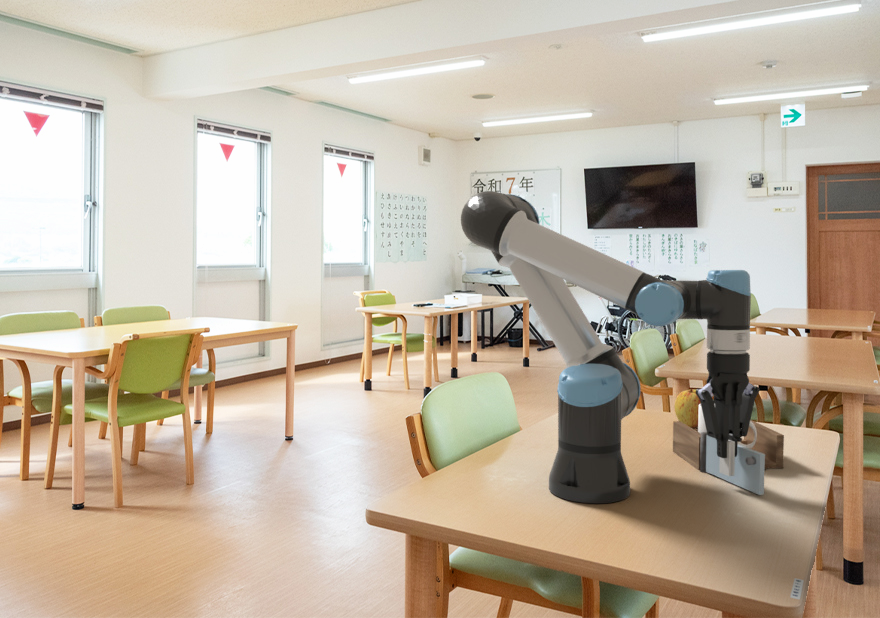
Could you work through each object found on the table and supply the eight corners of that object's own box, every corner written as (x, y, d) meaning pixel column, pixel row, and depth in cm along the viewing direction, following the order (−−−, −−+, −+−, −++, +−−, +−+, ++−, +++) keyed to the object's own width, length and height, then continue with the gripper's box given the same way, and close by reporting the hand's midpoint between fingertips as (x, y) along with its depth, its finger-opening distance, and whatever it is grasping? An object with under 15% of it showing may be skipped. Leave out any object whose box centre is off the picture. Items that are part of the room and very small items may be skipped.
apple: (710, 431, 176) (711, 392, 175) (672, 429, 179) (673, 390, 178) (710, 423, 184) (710, 386, 184) (674, 421, 187) (674, 384, 187)
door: (700, 472, 142) (701, 435, 141) (709, 471, 142) (710, 434, 142) (754, 495, 127) (755, 455, 127) (763, 494, 128) (764, 454, 127)
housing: (701, 472, 142) (702, 434, 142) (672, 451, 158) (673, 416, 157) (787, 470, 143) (788, 432, 143) (749, 449, 159) (750, 415, 158)
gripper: (712, 355, 126) (711, 482, 127) (770, 351, 129) (768, 476, 131) (686, 350, 133) (685, 471, 134) (742, 347, 137) (741, 465, 138)
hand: (726, 473), depth 133 cm, fingers closed
